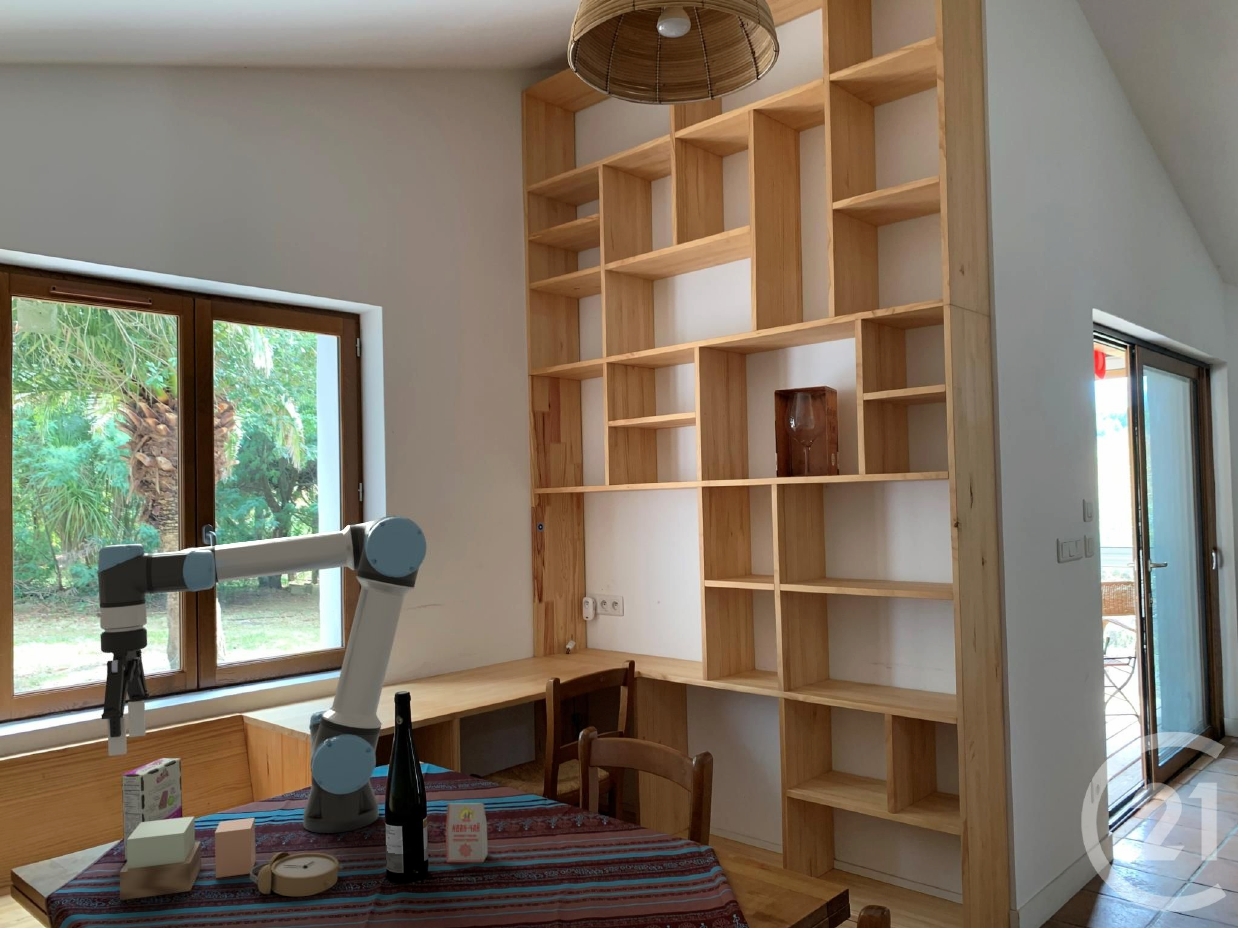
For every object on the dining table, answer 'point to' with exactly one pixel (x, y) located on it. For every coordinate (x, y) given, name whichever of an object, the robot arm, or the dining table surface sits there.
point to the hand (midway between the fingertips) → (128, 745)
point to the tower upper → (161, 842)
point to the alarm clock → (296, 874)
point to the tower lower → (161, 877)
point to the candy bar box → (151, 794)
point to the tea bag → (466, 832)
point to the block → (235, 847)
